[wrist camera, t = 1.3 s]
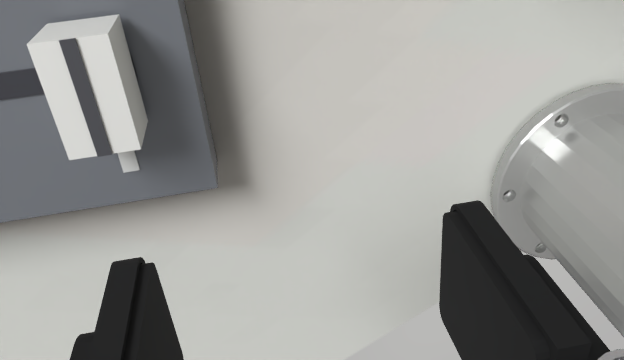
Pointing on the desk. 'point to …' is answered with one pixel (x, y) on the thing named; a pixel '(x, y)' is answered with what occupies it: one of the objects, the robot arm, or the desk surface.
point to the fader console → (119, 166)
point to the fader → (90, 86)
